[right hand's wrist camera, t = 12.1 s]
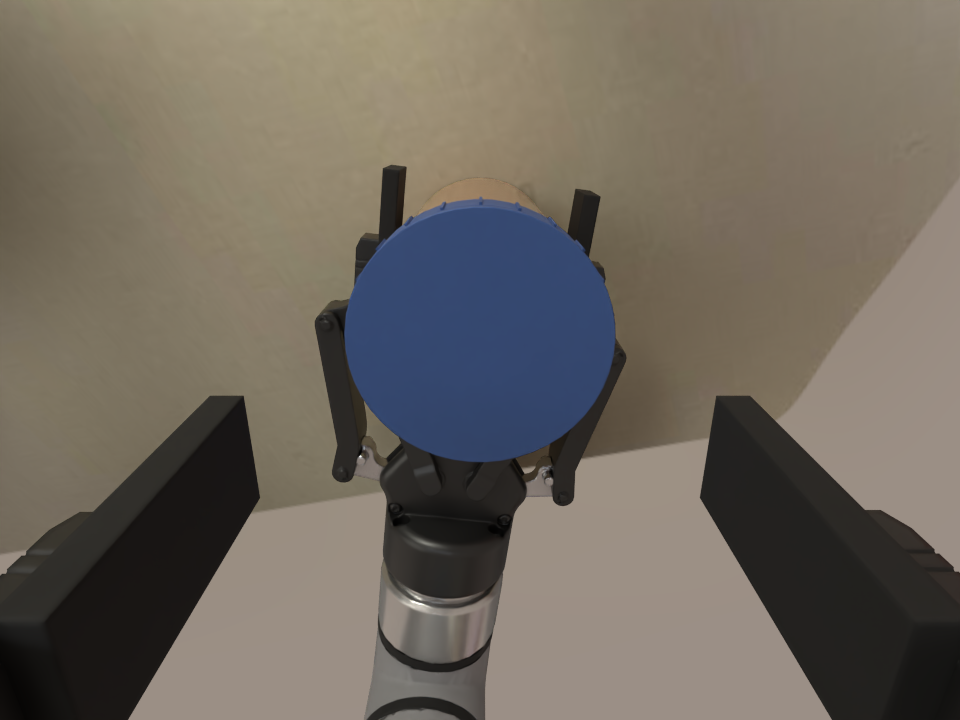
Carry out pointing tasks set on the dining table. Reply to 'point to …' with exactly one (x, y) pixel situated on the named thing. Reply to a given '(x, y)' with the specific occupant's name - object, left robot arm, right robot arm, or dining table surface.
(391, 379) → the lid
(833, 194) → the dining table surface
